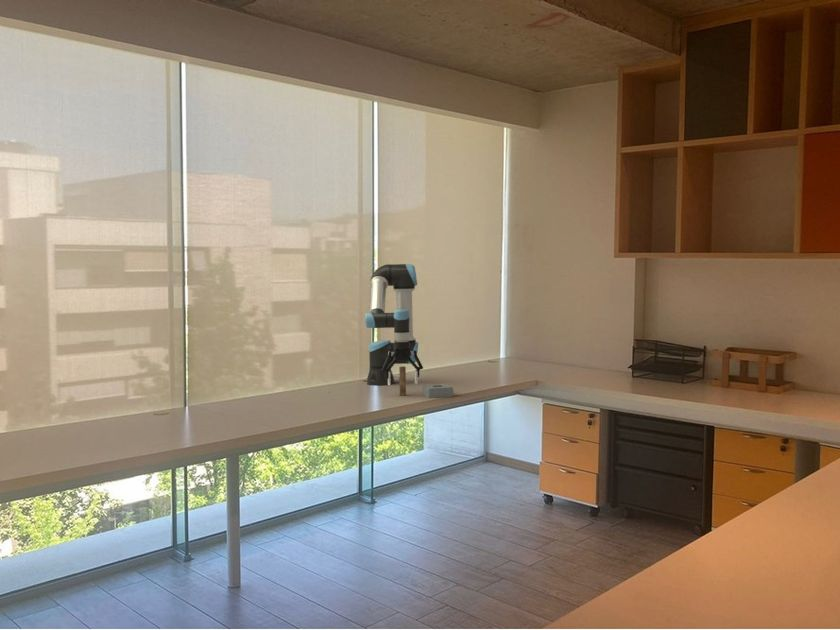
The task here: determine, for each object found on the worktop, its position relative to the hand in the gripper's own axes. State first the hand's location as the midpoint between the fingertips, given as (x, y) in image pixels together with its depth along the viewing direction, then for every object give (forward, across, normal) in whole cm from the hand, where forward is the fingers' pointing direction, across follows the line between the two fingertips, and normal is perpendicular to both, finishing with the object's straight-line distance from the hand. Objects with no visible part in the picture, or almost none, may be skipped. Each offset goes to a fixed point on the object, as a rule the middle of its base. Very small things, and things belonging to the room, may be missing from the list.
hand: (402, 384), depth 370 cm
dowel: (+5, 0, 0) cm, 5 cm away
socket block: (+5, +16, -6) cm, 18 cm away
